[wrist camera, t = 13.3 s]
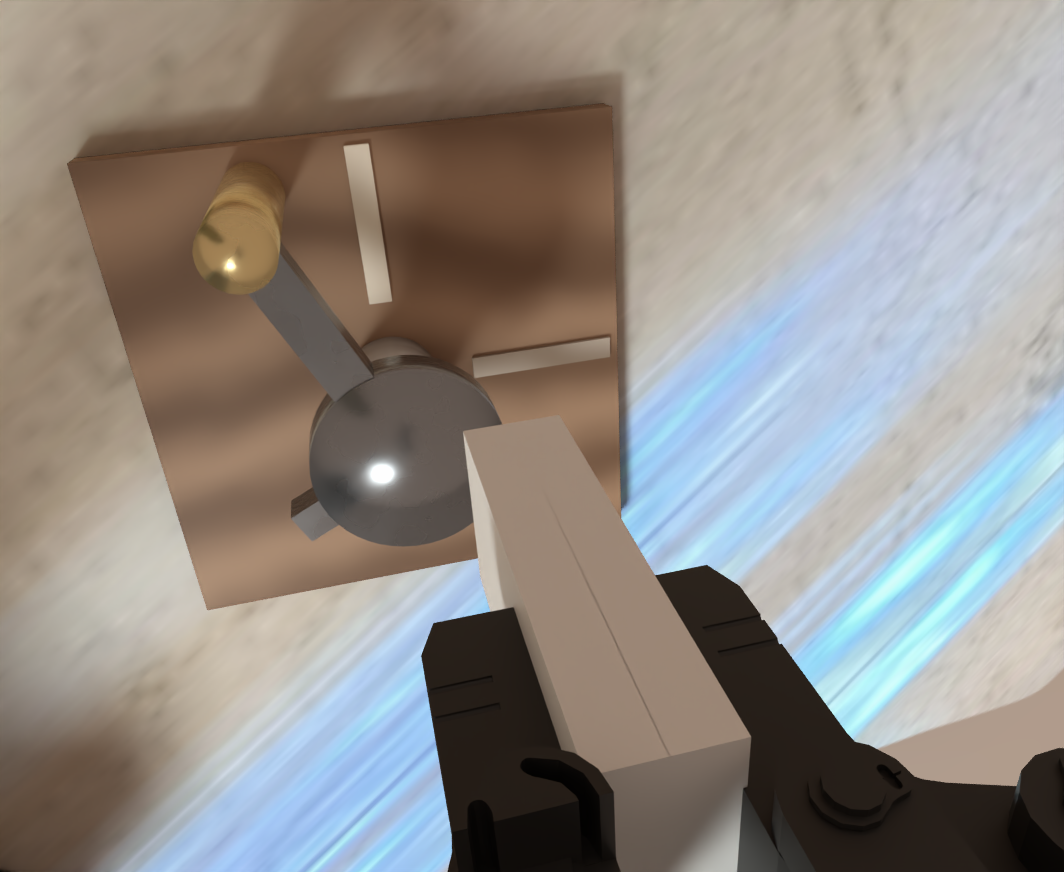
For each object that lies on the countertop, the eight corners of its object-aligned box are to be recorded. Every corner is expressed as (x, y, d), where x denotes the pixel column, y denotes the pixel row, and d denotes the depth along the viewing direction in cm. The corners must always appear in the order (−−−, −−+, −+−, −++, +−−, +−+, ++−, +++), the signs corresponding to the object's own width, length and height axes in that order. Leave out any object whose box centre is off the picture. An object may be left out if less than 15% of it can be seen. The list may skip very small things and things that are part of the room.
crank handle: (312, 114, 40) (313, 151, 30) (503, 399, 49) (551, 498, 39) (127, 235, 41) (71, 310, 31) (350, 496, 50) (360, 616, 40)
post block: (614, 518, 57) (662, 601, 49) (209, 595, 53) (192, 699, 45) (603, 103, 45) (665, 126, 37) (74, 158, 40) (18, 197, 33)
